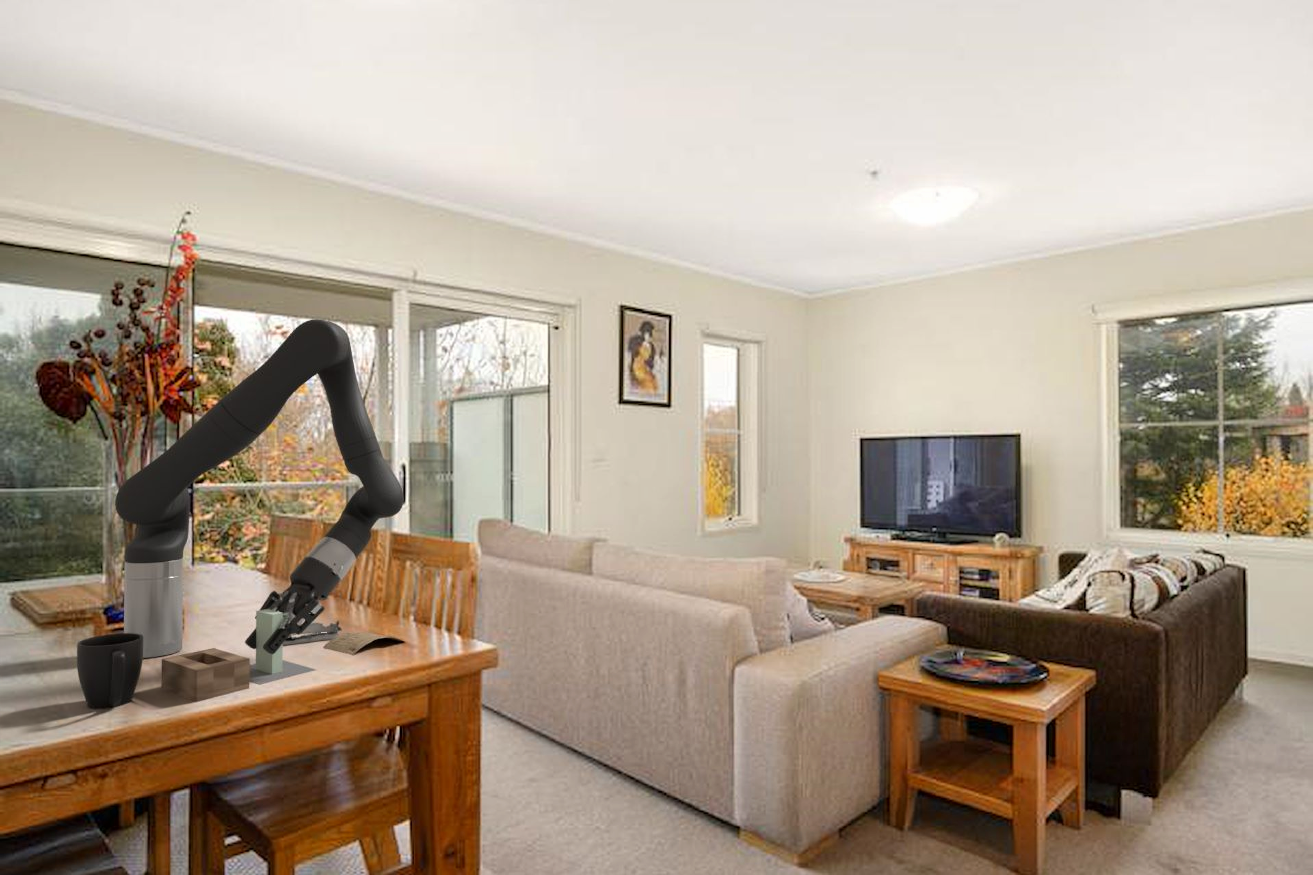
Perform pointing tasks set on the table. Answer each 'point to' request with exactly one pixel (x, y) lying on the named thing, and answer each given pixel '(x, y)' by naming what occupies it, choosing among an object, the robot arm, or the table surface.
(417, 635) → the table surface
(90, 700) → the mug
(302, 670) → the mat
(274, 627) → the tall mint green block
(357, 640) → the brown curved sheet
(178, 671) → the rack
